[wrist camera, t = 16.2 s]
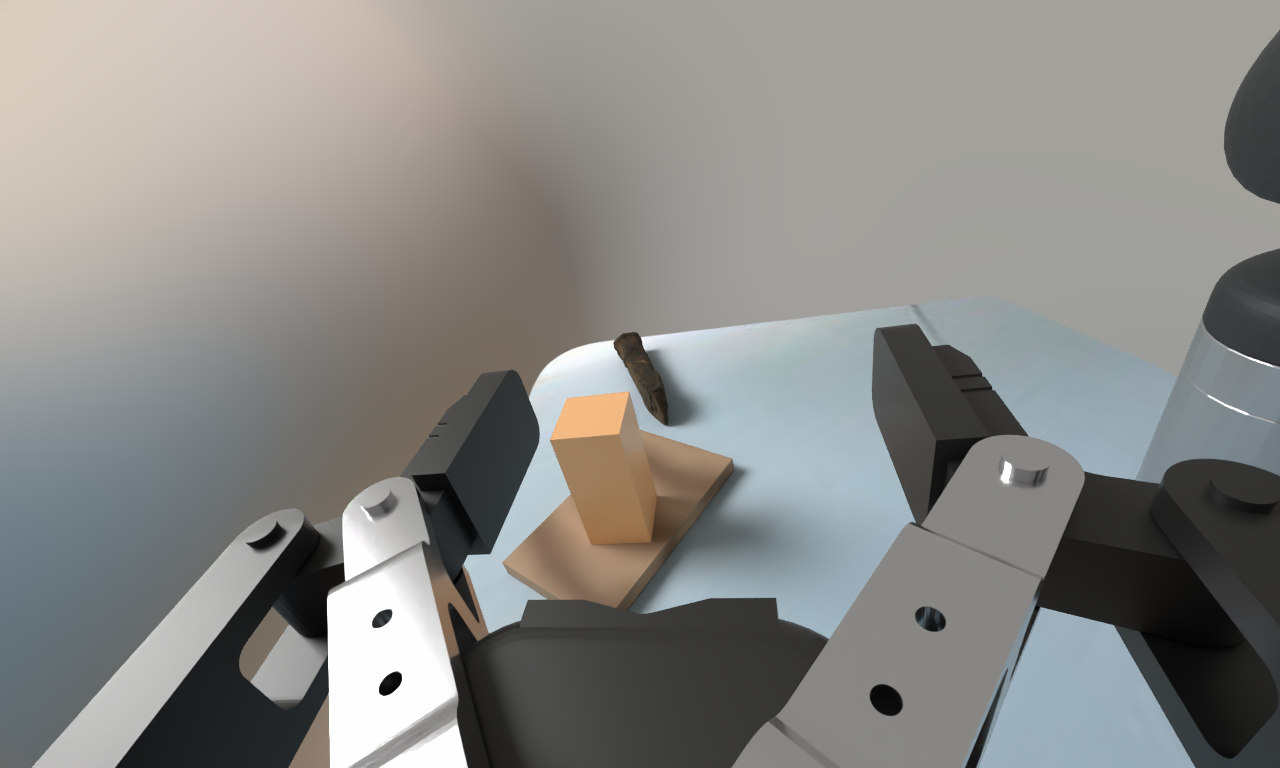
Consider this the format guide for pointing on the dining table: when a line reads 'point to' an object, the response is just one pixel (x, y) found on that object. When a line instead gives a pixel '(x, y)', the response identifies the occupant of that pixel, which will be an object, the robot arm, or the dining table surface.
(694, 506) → the jig plate
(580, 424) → the light orange rectangular block
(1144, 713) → the dining table surface
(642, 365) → the dark brown rough bar
